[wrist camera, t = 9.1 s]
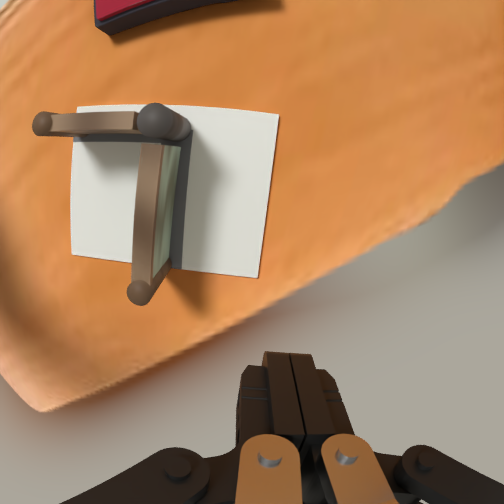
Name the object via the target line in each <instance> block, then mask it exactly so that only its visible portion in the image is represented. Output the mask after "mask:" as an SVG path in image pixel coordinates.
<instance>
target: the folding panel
mask: <svg viewBox="0 0 504 504" xmlns="http://www.w3.org/2000/svg"><path fill="white" fill-rule="evenodd" d="M180 151H181V147H177V146H168V145H158V144H146V143H141V151H140V159H139V167H138V176H137V186H136V197H135V210H134V224H133V243H132V274H131V284H130V285H129V286H128V288H127V296H128V298H129V300H130V301H131V302H132V303H134V304H136V305H139V306H143V305H146V304H148V303H149V301H150V300H151V298H152V297H153V295H154V293H155V292H156V290H157V289H158V287H159V286H160V284H161V283H162V281H163V280H164V278H165V277H166V275H167V273H168V272H169V270H170V269H171V266H172V262H171V259H170V258H169V250H170V238H171V227H172V217H173V207H174V198H175V189H176V181H177V173H178V165H179V158H180Z"/></svg>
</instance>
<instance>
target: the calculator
mask: <svg viewBox="0 0 504 504" xmlns="http://www.w3.org/2000/svg"><path fill="white" fill-rule="evenodd" d="M231 1H237V0H94V17H95V26H96V27H97V28H98V29H100V30H101V31H103V32H105V33H106V34H108V35H114V34H116V33H119V32H121V31H124V30H127V29H129V28H132V27H135V26H138V25H141V24H144V23H147V22H150V21H153V20H156V19H159V18H162V17H165V16H169V15H172V14H175V13H179V12H182V11H186V10H189V9H193V8H197V7H201V6H205V5H209V4H214V3H226V2H231Z"/></svg>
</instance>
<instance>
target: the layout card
mask: <svg viewBox="0 0 504 504" xmlns="http://www.w3.org/2000/svg"><path fill="white" fill-rule="evenodd" d="M145 106H146V105H101V106H83V107H77V113H85V112H110V111H135V112H138V113H139V112H140V111H141V109H142V108H143V107H145ZM164 106H166V107H168V108H170V109H171V110H173V111H175V112H177V113H178V114H180V115H182V116H183V117H185V118H187V119H188V120H189V122H190V124H191V132H190V134H189V136H188V137H187V138H186V139H185V140H183V141H180V142H174V141H169V140H163V139H157V138H151V137H147V136H144V135H143V134H89V135H87V136H86V137H74V139H73V154H72V170H71V247H72V255H79V256H86V257H93V258H100V259H107V260H115V261H122V262H129V263H132V243H133V224H134V210H135V197H136V186H137V176H138V167H139V159H140V151H141V143H146V144H158V145H168V146H177V147H181V151H180V158H179V165H178V173H177V181H176V189H175V198H174V207H173V217H172V227H171V238H170V250H169V258H170V259H171V262H172V266H171V268H174V269H184V270H192V271H200V272H209V273H217V274H226V275H235V276H244V277H253V278H257V277H258V270H259V263H260V255H261V248H262V241H263V233H264V226H265V218H266V211H267V203H268V196H269V188H270V181H271V173H272V165H273V158H274V150H275V142H276V134H277V126H278V119H279V115H278V114H271V113H264V112H256V111H247V110H237V109H227V108H215V107H201V106H182V105H164Z"/></svg>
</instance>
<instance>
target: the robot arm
mask: <svg viewBox="0 0 504 504" xmlns="http://www.w3.org/2000/svg"><path fill="white" fill-rule="evenodd" d="M338 391H339V390H338V388H337V385H336V382H335V379H334V378H333V377H332V376H331V375H330V374H329V373H328V372H327V371H326V370H324V369H323V370H322V369H316V367H315V365H314V361H313V358H312V355H311V354H298V353H280V352H268V351H265V353H264V356H263V361H262V366H253V365H248V366H247V367H246V369H245V370H244V372H243V373H242V376H241V381H240V388H239V394H238V401H237V408H236V447H235V448H234V449H233V450H231V451H230V452H228V453H226V454H223V455H220V456H215V457H209V458H202V457H201V456H200V455H199V454H197V453H195V452H193V451H191V450H188V449H185V448H176V447H174V448H166V449H163V450H160V451H158V452H156V453H154V454H153V455H151V456H149V457H148V458H146V459H144V460H143V461H141V462H139V463H138V464H136V465H134V466H132V467H131V468H129V469H127V470H125V471H123V472H122V473H120V474H118V475H116V476H114V477H112V478H111V479H109V480H107V481H105V482H103V483H102V484H99V485H97V486H95V487H94V488H91V489H89V490H87V491H86V492H83V493H81V494H79V495H77V496H75V497H73V498H71V499H69V500H67V501H64V502H62V503H60V504H423V503H421V502H419V501H420V500H421V499H422V500H424V501H425V502H427V503H429V504H504V485H503V484H501V483H499V482H497V481H495V480H493V479H491V478H489V477H487V476H485V475H483V474H481V473H479V472H477V471H475V470H473V469H471V468H469V467H467V466H466V465H464V464H462V463H460V462H458V461H456V460H454V459H452V458H451V457H449V456H447V455H445V454H443V453H441V452H440V451H438V450H436V449H434V448H432V447H429V446H426V445H416V446H412V447H410V448H409V449H407V450H406V451H405V453H404V454H403V455H402V456H396V455H389V454H381V453H377V452H373V450H372V449H371V447H370V446H369V444H368V443H367V442H366V441H365V440H363V439H362V438H360V437H357V436H355V434H354V431H353V429H352V426H351V423H350V420H349V417H348V415H347V412H346V409H345V406H344V404H343V402H342V398H341V396H340V393H339V392H338Z"/></svg>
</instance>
